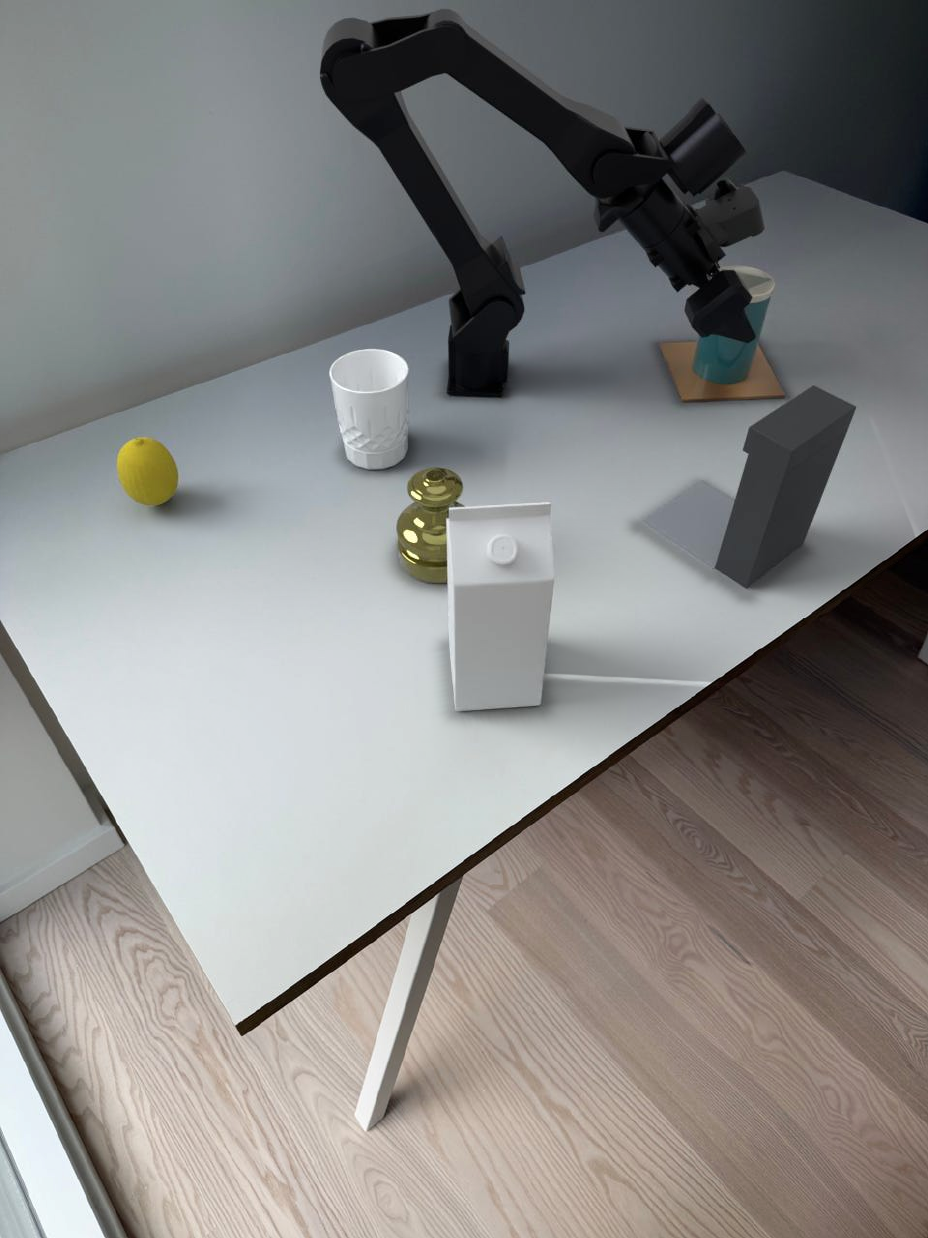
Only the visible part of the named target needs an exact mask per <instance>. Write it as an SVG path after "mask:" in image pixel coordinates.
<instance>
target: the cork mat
mask: <svg viewBox="0 0 928 1238" xmlns="http://www.w3.org/2000/svg"><path fill="white" fill-rule="evenodd" d="M696 344H697V341H682V342H681V341H680V342H660V343H659V348H660V350H661V354H662V355H663V358H664V360H665V363H666V365H667V368H668V370H669V372H670V375H671V378H672V380H673V382H674V385H675V387H676V389H677V392H678V394H679V398H680V399H681V402H682V403H697V402H718V401H720V402H721V401H741V400H742V401H743V400H761V399H762V400H763V399H764V400H765V399H784V398H786V393H785V391H784V389H783V388H782V386H781V384H780V382H779V380H778V378H777V377H776V374H775V373H774V371H773V369H772V367H771V365H770V364H769V362H768V360H767V358H766V356H765V354H764V352H763V351H762V349H761V347H760V345H759V344H758V345H757V349H756V353H755V356H754V360H753V364H752V367H751V371H750V374H749V376H748V377H747V378H746V379H745V380H743V381H741V382H738V383H734V384H719V383H713V382H710V381H707V380H705V379H703V378H701V377H700V376H698V375H697V374H696V373H695V372H694V370H693V367H692V363H693V358H694V353H695V349H696Z"/></svg>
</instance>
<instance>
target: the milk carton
mask: <svg viewBox="0 0 928 1238" xmlns="http://www.w3.org/2000/svg"><path fill="white" fill-rule="evenodd" d="M551 511H552V503H551V501H544V502H543V501H541V502H526V503H506V504H505V503H504V504H488V505H473V506H470V505H469V506H465V507H452V508H449V518H447V519H446V525H447V573H448V582H447V605H448V606H447V614H448V615H447V616H448V617H447V619H448V648H449V658H450V670H451V680H452V688H453V689H452V690H453V700H454V701H453V702H454V709H455V711H456V712H464V711H465V712H466V711H480V710H493V709H509V708H510V709H511V708H524V707H535V706H540V705H541V704H542V697H543V687H544V679H545V669H546V661H547V649H548V642H549V641H548V640H549V631H550V621H551V612H552V603H553V602H552V601H553V593H554V585H555V569H554V567H555V566H554V565H555V564H554V552H553V551H554V550H553V538H552V537H553V535H552V521H551Z"/></svg>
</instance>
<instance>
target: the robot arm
mask: <svg viewBox="0 0 928 1238" xmlns="http://www.w3.org/2000/svg"><path fill="white" fill-rule="evenodd" d="M444 74H446V75H448V76H449V77H451V78H452V79H453V80H455V81H456V82H458V84H460V85H462V86H463V87H464V88H466V89H467V90H468V91H471V93H473V94H475V95H476V96H477V97H479V98H480V99H481V100H483V101H484V102H486V103H487V104H489V105H490V106H491V107H493V108H494V109H495V110H497V111H498V112H500V113H501V114H502V115H504V116H505V117H506V118H508V119H509V120H511V121H512V122H513V123H515V124H516V125H518V126H519V127H520V128H522V129H523V130H525V131H526V132H528V133H529V134H530V135H532V136H533V137H535V138H536V139H537V140H538V141H540V142H542V143H543V144H544V145H545V146H546V147H547V148H548V149H549V151H551V153H552V154H553V155H554V156H555V158H556V159H557V160H558V161H559V162H560V164H561V165H562V166H563V168H565V170H566V171H567V172H568V173H569V175H571V177H572V178H573V179H574V180H575V181H576V182H577V183H578V184H579V185H580V186H581V187H582V188H583V190H584V191H586V193H587V194H589V195H590V196H591V197H594V202H595V205H594V212H593V219H594V221H595V222H594V223H595V224H596V226H597V229H598V231H599V232H600V233H604V232H606V231H607V230H608V229H609V228H610V227H611V226H613V224H615V223H616V222H617V221H618V222H619V224H620V225H621V226H622V227H623V228H624V229H625V230H626V231H627V232H628V233H629V235H630V236H631V237H632V238H633V239H634V241H636V243H637V244H638V245H639V246H640V247H641V248H642V249H643V251H644V252H645V253H646V256H647V258H648V260H649V262H650V263H651V264H652V265H653V267H654V268H657V267H658V268H659V269H660V270H661V271H662V272H663V273H664V274H665V275H666V276H667V277H668V280H669V282H670V283H669V284H670V285H671V287H672V288H673V289H674V290H675V291H676V292H677V293H679V292H680V291H681V290H682V289H684V288H685V287H686V286H694V287H696V288H698V289H697V290H695V292H693V293H692V294H691V295H690V296H688V297H687V298H686V299H685V305H684V313H685V315H686V318H687V320H688V322H689V324H690V326H691V328H692V329H693V330H694V331H695V332H696V333H697V335H700V337H701V338H704V337H708V336H710V335H711V334H713V335H718V336H723V337H727V338H730V339H734V340H738V341H741V342H745V343H750V342H751V341H753V340H754V339H755V338H756V334H755V332H754V330H753V328H752V326H751V324H750V322H749V319H748V317H747V315H746V313H745V311H744V308H745V307H746V306H748V305H749V304H750V302H751V300H752V298H753V297H752V295H751V293H750V292H749V290H748V288H747V286H746V285H745V283H744V282H743V280H742V279H741V278H740V276H739V275H738V274H737V273H736V271H735V270H721V271H720V270H719V268H721V266H720V264H719V262H720V261H721V260H722V259H724V258H725V257H726V256H727V254H726V252H725V250H724V249H723V248H727V247H730V246H733V245H735V244H737V243H739V242H742V241H744V240H746V239H748V238H750V237H752V238H754V237H757V236H759V235H760V234H762V233H763V232H764V231H765V228H766V227H765V224H764V217H763V213H762V208H761V203H760V199H759V198H758V196H757V195H756V193H755V192H754V191H753V189H752V188H751V187H750V186H747V185H746V186H745V184H744V183H743V182H741V183H739V184H738V187H737V185H735V183H734V182H733V181H731V180H730V178H729V177H727V176H726V175H724V174H725V173H726V172H727V171H728V170H730V169H731V168H732V167H733V166H734V165H735V164H737V162H739V161H740V160H741V159H742V158H743V157H744V156H745V155H746V154H748V151H747V150H746V148H745V147H744V145H743V144H742V142H741V141H740V140H739V138H738V137H737V136H736V134H735V132H734V131H733V130H732V128H730V126H729V124H728V123H727V122H726V120H725V118H724V117H723V115H721V112H718V113H717V111H715V109H714V108H713V107H712V105H711V104H710V102H709V101H708V100H707V98H706V97H704V96H702V97H701V98H699V99H698V100H697V101H696V102H695V103H694V104H693V105H692V106H691V107H690V109H689V110H688V112H687V113H686V114H685V115H684V116H683V117H682V118H681V119H680V120H679V121H678V122H677V123H676V124H675V125H674V126H673V127H672V128H670V130H668V131H667V132H666V133H665V134H664V135H663V136H662V137H661V138H660V137H659V136H658V134H657V132H656V130H652V129H647V128H640V127H639V128H638V127H633V126H632V127H630V126H624V124H623V123H622V122H621V121H620V120H619V119H618V118H617V117H614V116H613V115H611V114H609V113H607V112H605V111H602V110H601V109H598V108H596V107H594V106H592V105H589V104H586V103H582V102H579V101H575V100H572V99H570V98H567V97H565V96H564V95H562V94H561V93H559V92H557V91H556V90H555V89H553V87H551V86H550V85H548V84H547V83H546V82H544V81H543V80H542V79H540V78H539V77H538V76H536V75H535V74H533V73H532V72H531V71H530V70H529V69H527V68H525V66H523V65H522V64H520V63H519V62H517V61H516V60H515V59H514V58H513V57H511V56H510V55H509V54H507V53H506V52H505V51H503V50H502V49H500V48H499V47H498V46H496V45H495V44H494V43H493V42H491V41H490V40H488V39H487V38H486V37H485V36H483V35H482V34H480V33H479V32H478V31H477V30H475V28H473V27H471V26H470V25H469V24H467V23H466V21H464V19H463V18H462V16H461V15H460V14H459V13H458V12H456V11H454V10H452V9H451V8H440V9H437V10H434V11H431V12H427V13H423V14H417V15H405V16H394V17H392V16H391V17H386V18H383V19H382V18H381V19H378V20H374V21H371V22H369V21H368V20H364V19H361V18H357V17H346V18H342V19H340V20H338V21H336V22H334V23H333V24H332V25H331V26H330V27H329V29H328V30H327V31H326V33H325V36H324V38H323V42H322V49H321V57H320V68H319V80H320V84H321V87H322V90H323V92H324V94H325V96H326V97H327V99H328V100H329V102H331V103H332V104H333V106H334V107H335V108H336V109H337V110H338V111H339V112H340V114H341V115H342V116H343V117H344V118H345V119H346V120H347V121H348V122H349V123H350V125H351V126H352V127H354V129H356V131H358V132H359V133H361V134H362V135H363V136H364V137H366V138H367V139H368V140H369V141H370V142H372V143H373V144H374V145H375V146H376V147H377V149H378V150H379V151H380V153H381V155H382V156H383V158H384V160H385V161H386V163H387V164H388V166H389V167H390V169H391V171H392V173H393V174H394V176H395V177H396V179H397V180H398V181H399V184H400V185H401V186H402V188H403V189H404V191H405V193H406V194H407V195H408V197H409V199H410V201H411V202H412V204H413V206H414V207H415V208H416V210H417V212H418V213H419V215H420V216H421V218H422V220H423V221H424V223H425V224H426V226H427V227H428V229H429V230H430V232H431V234H432V235H433V237H434V238H435V240H436V242H437V243H438V245H439V247H440V248H441V250H442V251H443V253H444V254H445V256H446V258H447V259H448V260H449V263H450V264H451V266H452V268H453V271H454V273H455V274H454V275H455V276H456V280H457V282H458V285H459V288H458V290H457V291H456V292H454V294H453V295H452V296H450V297H449V298H448V308H449V315H450V325H449V330H448V337H447V362H448V363H447V364H448V365H447V366H448V377H447V383H446V394H447V395H451V396H476V397H477V396H478V397H480V396H481V397H502V396H503V394H504V385H505V384H507V383H508V379H509V360H510V340H508V339H507V338H508V336H509V334H510V332H511V331H512V330H514V329H515V328H516V327H517V326H518V325H519V324H520V322H521V321H522V319H523V317H524V313H525V303H524V299H523V296H524V295H526V288H525V284H524V280H523V276H522V272H521V267H520V263H519V262H518V261H517V260H516V259H514V258H513V257H512V255H511V254H510V252H509V250H508V247H507V245H506V241H505V239H504V237H503V236H499V237H498V238H496V240H494V241H493V242H491V241H489V239H487V238H486V237H485V236H483V235H482V234H481V232H479V230H478V228H477V226H476V225H475V223H474V221H473V219H472V217H470V214H469V212H468V211H467V210H466V208H465V206H464V204H463V203H462V201H461V199H460V198H459V196H458V193H456V191H455V189H454V187H453V186H452V184H451V182H450V180H449V179H448V177H447V175H446V173H445V172H444V170H443V169H442V167H441V166H440V164H439V162H438V161H437V159H436V157H435V155H434V154H433V152H432V150H431V149H430V146H429V145H428V143H427V142H426V140H425V138H424V136H423V135H422V134H421V131H420V130H419V128H418V127H417V125H416V123H415V122H414V120H413V118H412V117H411V115H410V113H409V111H408V108H407V105H406V102H405V99H404V96H403V93H402V91H404V90H407V89H408V88H411V87H413V86H415V85H417V84H419V83H421V82H425V80H428V79H430V78H432V77H435V76H439V75H444ZM666 175H668V176H669V178H670V179H671V180H672V182H673V183H674V184H675V185H676V187H677V188H678V189H679V191H681V192H682V193H683V195H686V194H687V193H690V195H692V197H696V196H697V195H698V194H699V195H701V194H702V193H704V191H706V190H707V189H708V188H709V187H710V190H709V195H708V198H707V199H705V200H704V202H705V205H703V206H701V207H700V208H694V206H693V205H692V204H691V203H690V202H688V203H686V201H682V200H681V199H680V197H679V196H678V195H677V194H676V192H675V191H674V190H673V189H672V188H671V186H670V185H669V184H668V182H667V181H666V180H665V178H664V177H665V176H666ZM723 175H724V176H723ZM710 276H711V277H712V279H711V278H710Z"/></svg>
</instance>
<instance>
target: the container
mask: <svg viewBox="0 0 928 1238" xmlns="http://www.w3.org/2000/svg"><path fill="white" fill-rule="evenodd" d="M719 270H720V271H721V270H735V271H736V273H737V274H738V275H739V276H740V278H741V279H742V280H743V282H744V283H745V285H746V286H747V288H748V290H749V292H750V293H751V295H752V297H753V298H752V300H751V302H750V304H749V305H748V306H746V307H745V308H744V311H745V313H746V315H747V317H748V319H749V322H750V324H751V326H752V328H753V330H754V332H755V334H756V338H755V339H754V340H753V341H751V342H750V343H745V342H741V341H738V340H734V339H730V338H727V337H723V336H718V335H713V334H711V335H710V336H708V337H704V338H701V337H700V335H699V334H697V338H696V339H697V340H696V342H697V344H696V349H695V353H694V358H693V363H692V367H693V370H694V372H695V373H696V374H697V375H698V376H700V377H701V378H703V379H705V380H707V381H710V382H713V383H719V384H734V383H738V382H741V381H743V380H745V379H746V378H747V377H748V376H749V374H750V371H751V367H752V364H753V360H754V356H755V353H756V349H757V345H759V341H760V337H761V334H762V330H763V327H764V323H765V320H766V317H767V312H768V308H769V305H770V301H771V299H772V298H771V297H772V295H773V294H774V291H775V285H776V284H775V280H774V279H773V277H772V276H771V275H769V274H768V273H767V272H765V271H764V270H763V271H762V270H761V269H758V268H755V267H753V266H747V265H727V266H722V267H720V268H719ZM710 278H711V279H712V277H711V276H710Z"/></svg>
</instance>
